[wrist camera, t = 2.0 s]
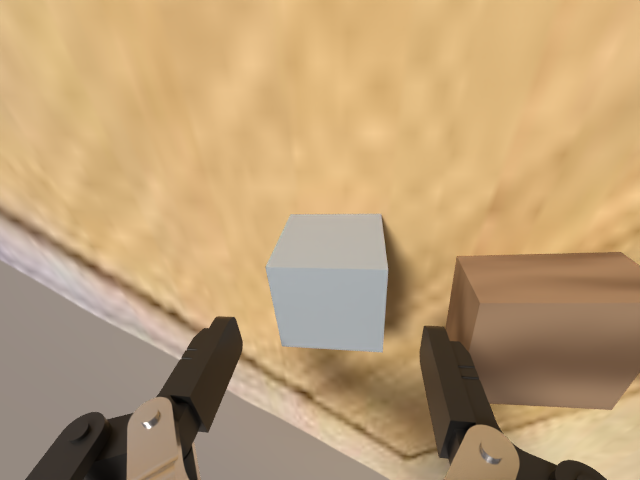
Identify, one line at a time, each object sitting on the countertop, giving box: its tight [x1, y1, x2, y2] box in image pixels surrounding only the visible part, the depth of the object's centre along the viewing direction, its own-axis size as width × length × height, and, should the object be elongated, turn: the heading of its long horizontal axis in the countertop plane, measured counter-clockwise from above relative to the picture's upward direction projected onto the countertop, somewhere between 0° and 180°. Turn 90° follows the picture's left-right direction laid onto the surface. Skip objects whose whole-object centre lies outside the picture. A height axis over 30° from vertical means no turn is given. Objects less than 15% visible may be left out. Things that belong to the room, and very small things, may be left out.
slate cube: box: [266, 214, 388, 352], centre depth 15 cm, size 5×5×5 cm
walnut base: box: [446, 252, 640, 410], centre depth 16 cm, size 8×8×4 cm
